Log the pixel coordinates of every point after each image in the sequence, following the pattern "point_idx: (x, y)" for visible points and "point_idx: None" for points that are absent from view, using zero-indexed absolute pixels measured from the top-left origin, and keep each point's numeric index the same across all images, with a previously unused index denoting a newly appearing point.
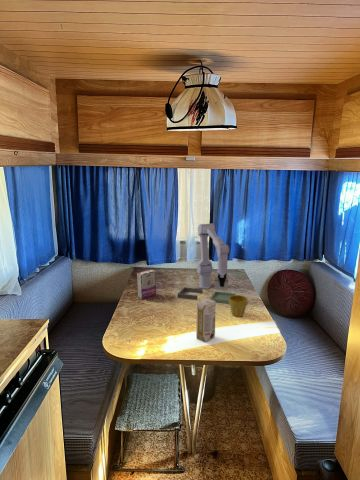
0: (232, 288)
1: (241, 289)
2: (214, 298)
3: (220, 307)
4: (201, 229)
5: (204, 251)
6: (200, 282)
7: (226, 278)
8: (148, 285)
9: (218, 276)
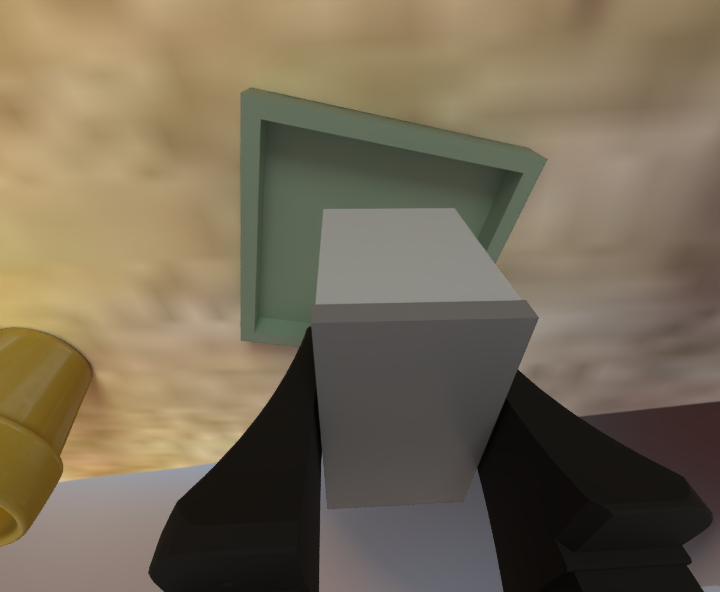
0: (652, 315)
1: (601, 372)
2: (346, 155)
3: (115, 231)
4: None
5: None
6: None
7: (457, 487)
8: None
9: (152, 572)
